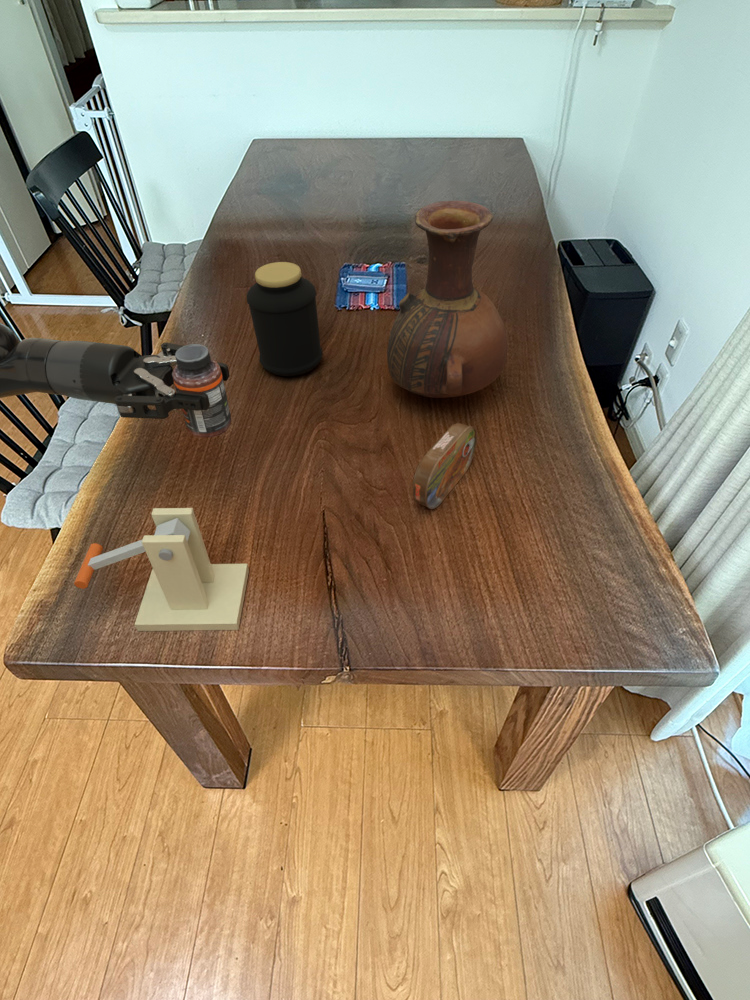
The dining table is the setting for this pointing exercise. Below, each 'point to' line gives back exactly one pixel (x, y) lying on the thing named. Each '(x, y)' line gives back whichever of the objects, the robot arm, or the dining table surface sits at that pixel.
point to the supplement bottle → (202, 390)
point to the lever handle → (122, 552)
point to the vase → (448, 312)
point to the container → (285, 319)
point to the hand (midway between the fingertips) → (217, 386)
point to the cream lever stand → (188, 582)
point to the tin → (444, 465)
